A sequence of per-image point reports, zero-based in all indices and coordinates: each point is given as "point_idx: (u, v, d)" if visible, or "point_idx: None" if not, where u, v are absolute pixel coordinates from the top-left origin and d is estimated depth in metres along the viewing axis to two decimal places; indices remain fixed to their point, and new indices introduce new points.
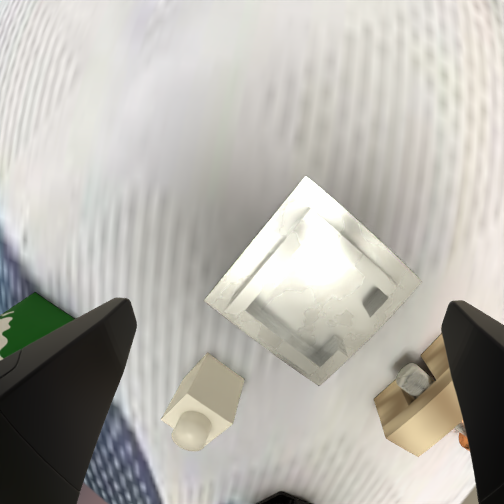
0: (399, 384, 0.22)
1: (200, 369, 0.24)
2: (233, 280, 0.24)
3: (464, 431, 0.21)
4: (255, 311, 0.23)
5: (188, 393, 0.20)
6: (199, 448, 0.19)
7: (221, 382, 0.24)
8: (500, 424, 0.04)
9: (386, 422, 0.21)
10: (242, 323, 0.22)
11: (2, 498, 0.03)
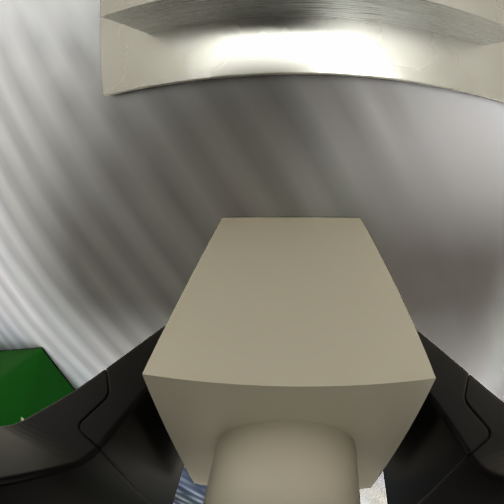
0: None
1: (203, 260, 0.07)
2: None
3: None
4: None
5: (150, 370, 0.04)
6: None
7: (297, 254, 0.07)
8: (404, 446, 0.05)
9: None
10: None
11: None
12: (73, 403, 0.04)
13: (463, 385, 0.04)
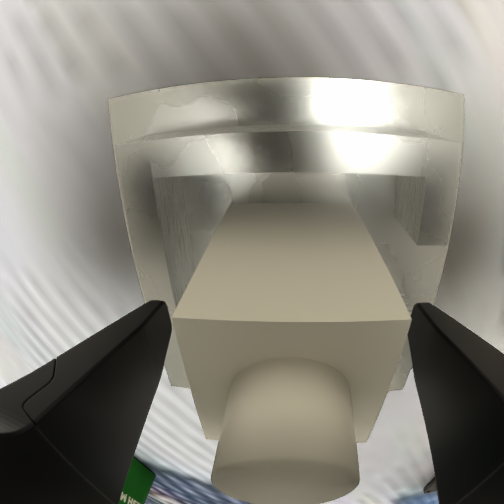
0: None
1: (217, 236, 0.08)
2: None
3: None
4: None
5: (178, 314, 0.05)
6: (347, 487, 0.04)
7: (297, 231, 0.08)
8: (460, 435, 0.05)
9: None
10: None
11: None
12: (22, 385, 0.04)
13: None
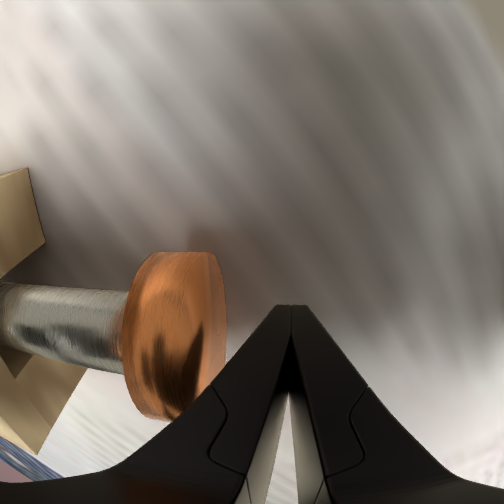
0: None
1: None
2: None
3: (68, 362, 0.07)
4: None
5: None
6: None
7: None
8: (301, 453, 0.05)
9: None
10: None
11: None
12: (189, 428, 0.04)
13: (354, 398, 0.04)
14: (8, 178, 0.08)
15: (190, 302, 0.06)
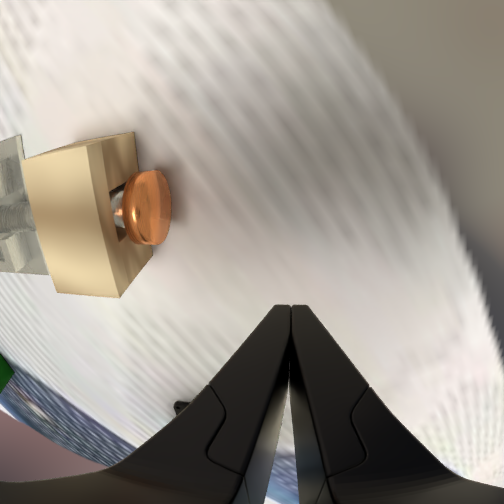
0: None
1: None
2: None
3: None
4: None
5: None
6: None
7: None
8: (302, 453, 0.05)
9: None
10: None
11: None
12: (187, 428, 0.04)
13: (355, 398, 0.04)
14: (126, 135, 0.17)
15: (149, 183, 0.16)
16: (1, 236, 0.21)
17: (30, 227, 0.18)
